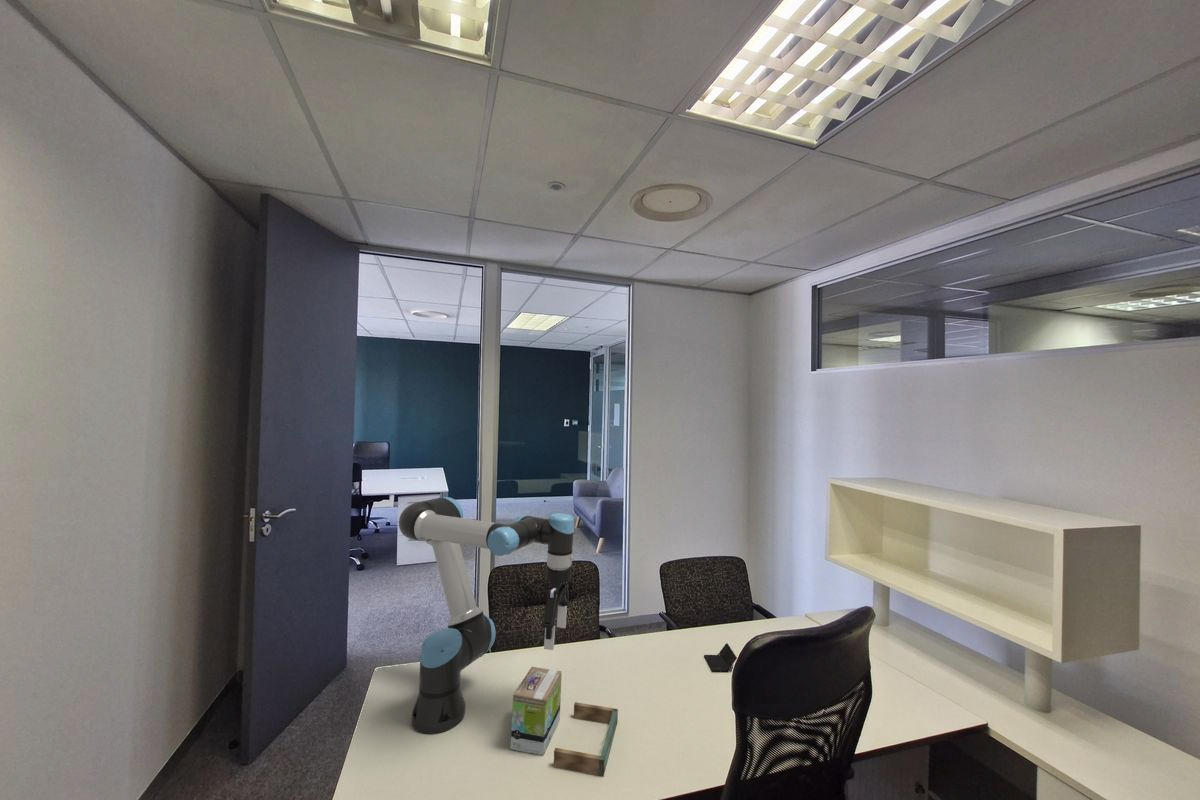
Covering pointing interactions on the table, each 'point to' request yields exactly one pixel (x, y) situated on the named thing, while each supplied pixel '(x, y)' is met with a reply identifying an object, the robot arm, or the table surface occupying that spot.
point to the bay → (584, 760)
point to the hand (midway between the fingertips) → (555, 637)
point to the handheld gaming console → (721, 660)
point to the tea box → (536, 710)
